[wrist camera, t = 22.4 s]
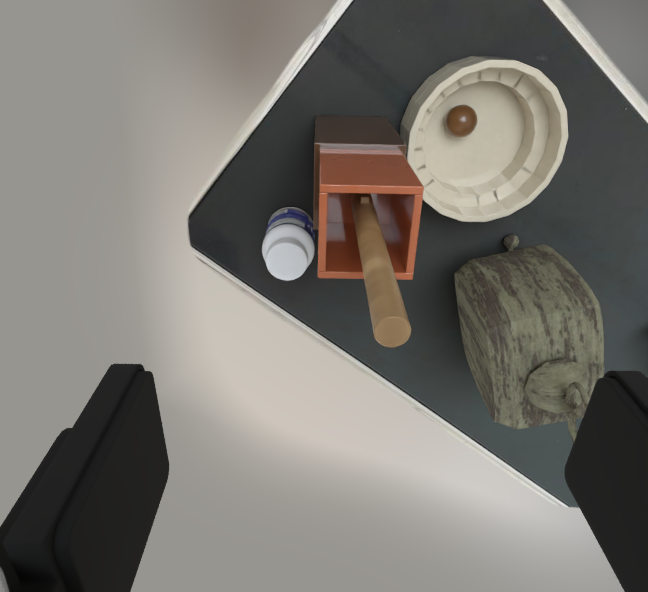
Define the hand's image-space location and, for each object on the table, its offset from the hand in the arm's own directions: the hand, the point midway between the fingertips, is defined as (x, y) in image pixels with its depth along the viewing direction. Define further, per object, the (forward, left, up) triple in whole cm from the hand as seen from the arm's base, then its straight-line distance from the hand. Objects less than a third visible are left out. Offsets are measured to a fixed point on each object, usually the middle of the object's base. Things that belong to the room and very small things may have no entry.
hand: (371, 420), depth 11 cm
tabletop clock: (+19, +19, -44) cm, 51 cm away
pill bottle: (+12, -4, -44) cm, 45 cm away
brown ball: (0, +12, -41) cm, 43 cm away
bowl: (+2, +14, -43) cm, 46 cm away
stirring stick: (+4, +2, -30) cm, 30 cm away
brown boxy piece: (+4, +2, -43) cm, 44 cm away
